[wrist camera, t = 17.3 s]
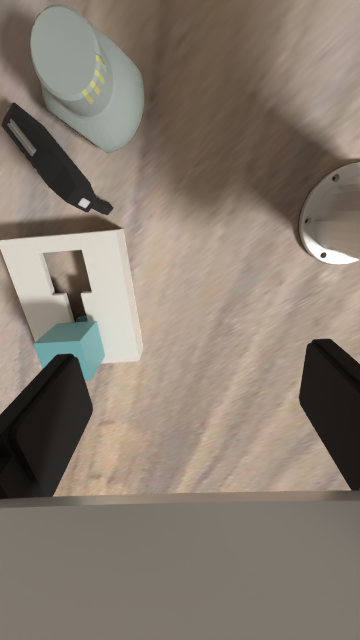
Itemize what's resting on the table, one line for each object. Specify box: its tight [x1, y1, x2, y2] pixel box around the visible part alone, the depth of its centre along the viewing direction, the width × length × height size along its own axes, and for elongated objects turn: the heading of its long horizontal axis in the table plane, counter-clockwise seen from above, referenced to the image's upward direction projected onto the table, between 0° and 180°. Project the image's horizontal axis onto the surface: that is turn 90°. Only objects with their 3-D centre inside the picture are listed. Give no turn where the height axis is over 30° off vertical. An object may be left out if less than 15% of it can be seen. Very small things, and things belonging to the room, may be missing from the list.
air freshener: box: [30, 5, 144, 153], centre depth 24 cm, size 11×8×10 cm
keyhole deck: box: [0, 229, 143, 363], centre depth 37 cm, size 16×20×4 cm
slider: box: [33, 316, 105, 380], centre depth 36 cm, size 6×6×11 cm
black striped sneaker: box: [2, 103, 113, 215], centre depth 29 cm, size 3×16×10 cm, turn 45°
